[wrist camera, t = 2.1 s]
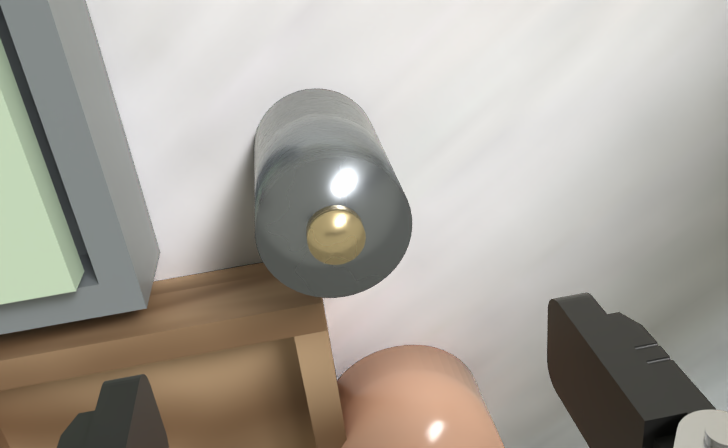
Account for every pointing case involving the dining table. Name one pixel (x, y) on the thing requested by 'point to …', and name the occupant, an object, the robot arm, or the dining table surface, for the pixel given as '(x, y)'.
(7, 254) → the pale green panel
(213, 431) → the brown wooden tray
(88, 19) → the checker base
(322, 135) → the cell
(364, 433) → the peach dome knob
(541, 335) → the dining table surface
